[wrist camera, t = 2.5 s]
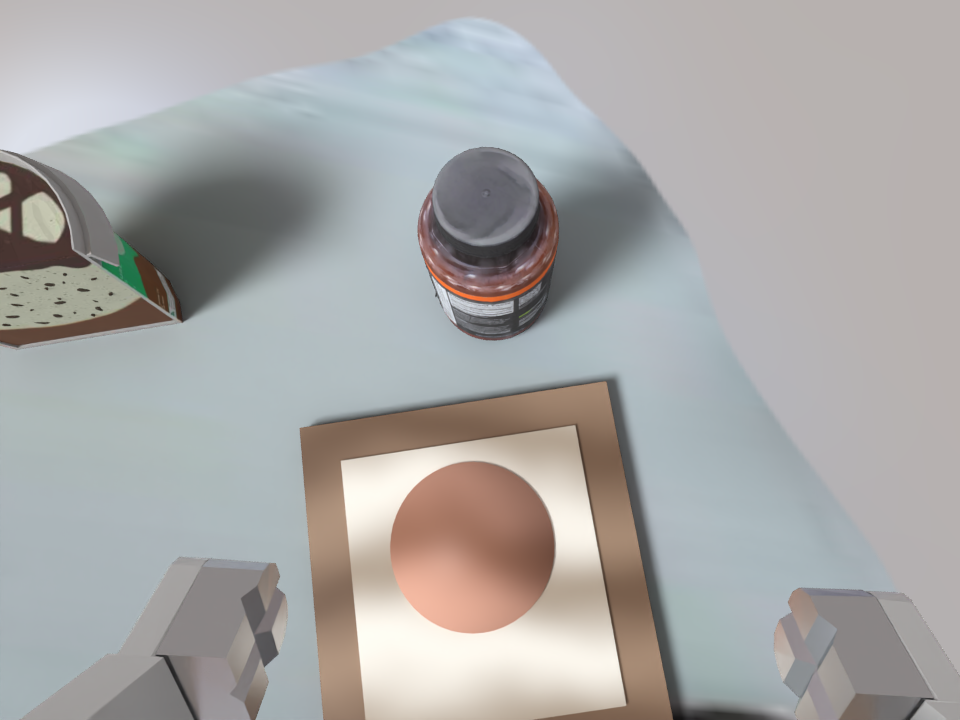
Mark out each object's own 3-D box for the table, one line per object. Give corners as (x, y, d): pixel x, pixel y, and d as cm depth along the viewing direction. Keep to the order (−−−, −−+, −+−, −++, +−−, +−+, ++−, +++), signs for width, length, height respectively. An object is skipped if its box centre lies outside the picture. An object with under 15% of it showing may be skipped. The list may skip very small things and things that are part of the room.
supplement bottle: (464, 226, 34) (444, 98, 23) (563, 262, 33) (591, 149, 22) (421, 320, 33) (379, 234, 22) (523, 360, 32) (532, 292, 21)
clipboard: (678, 762, 28) (687, 777, 26) (336, 813, 28) (327, 831, 26) (603, 383, 32) (608, 378, 30) (304, 429, 32) (294, 426, 30)
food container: (203, 217, 35) (85, 110, 25) (209, 318, 33) (87, 246, 24) (-7, 251, 35) (-206, 158, 25) (-9, 353, 33) (-221, 297, 24)
